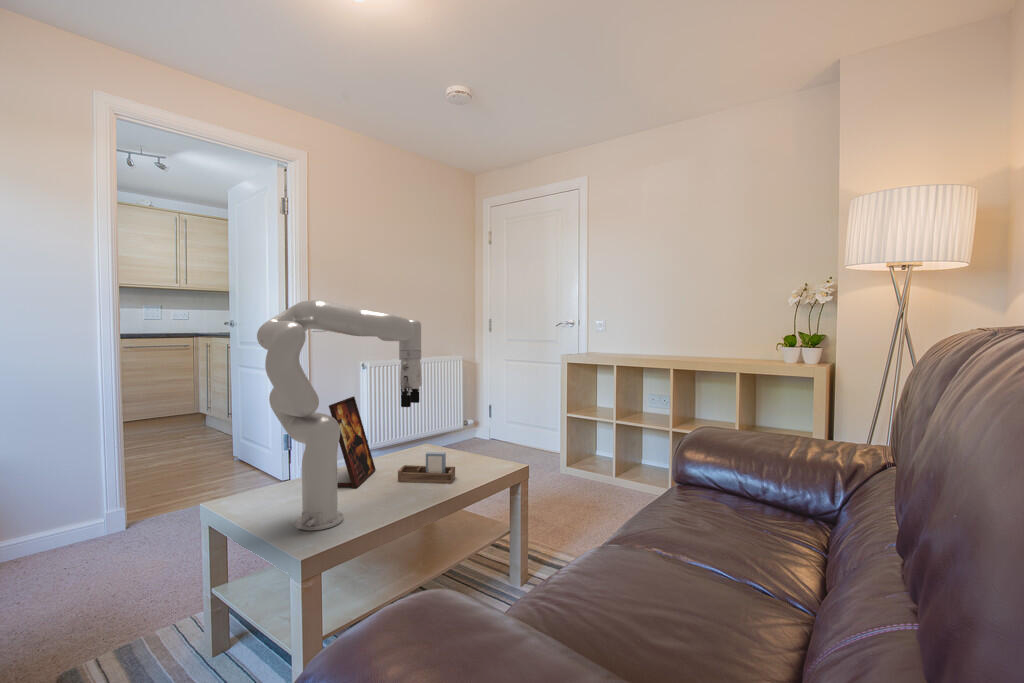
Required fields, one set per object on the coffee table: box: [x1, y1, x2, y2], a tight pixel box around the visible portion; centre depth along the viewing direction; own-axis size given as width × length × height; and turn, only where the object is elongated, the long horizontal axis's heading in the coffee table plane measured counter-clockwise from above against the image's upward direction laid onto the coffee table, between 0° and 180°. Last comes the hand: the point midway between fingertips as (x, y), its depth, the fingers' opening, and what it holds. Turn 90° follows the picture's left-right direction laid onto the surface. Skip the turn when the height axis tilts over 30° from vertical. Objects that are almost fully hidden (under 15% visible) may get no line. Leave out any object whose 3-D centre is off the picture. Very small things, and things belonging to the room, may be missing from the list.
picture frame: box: [328, 395, 377, 489], centre depth 173 cm, size 21×11×30 cm, turn 179°
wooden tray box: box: [397, 464, 456, 484], centre depth 173 cm, size 7×20×4 cm, turn 84°
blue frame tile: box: [425, 451, 447, 473], centre depth 172 cm, size 2×7×9 cm, turn 84°
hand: (410, 404), depth 160 cm, fingers open, 9 cm apart
